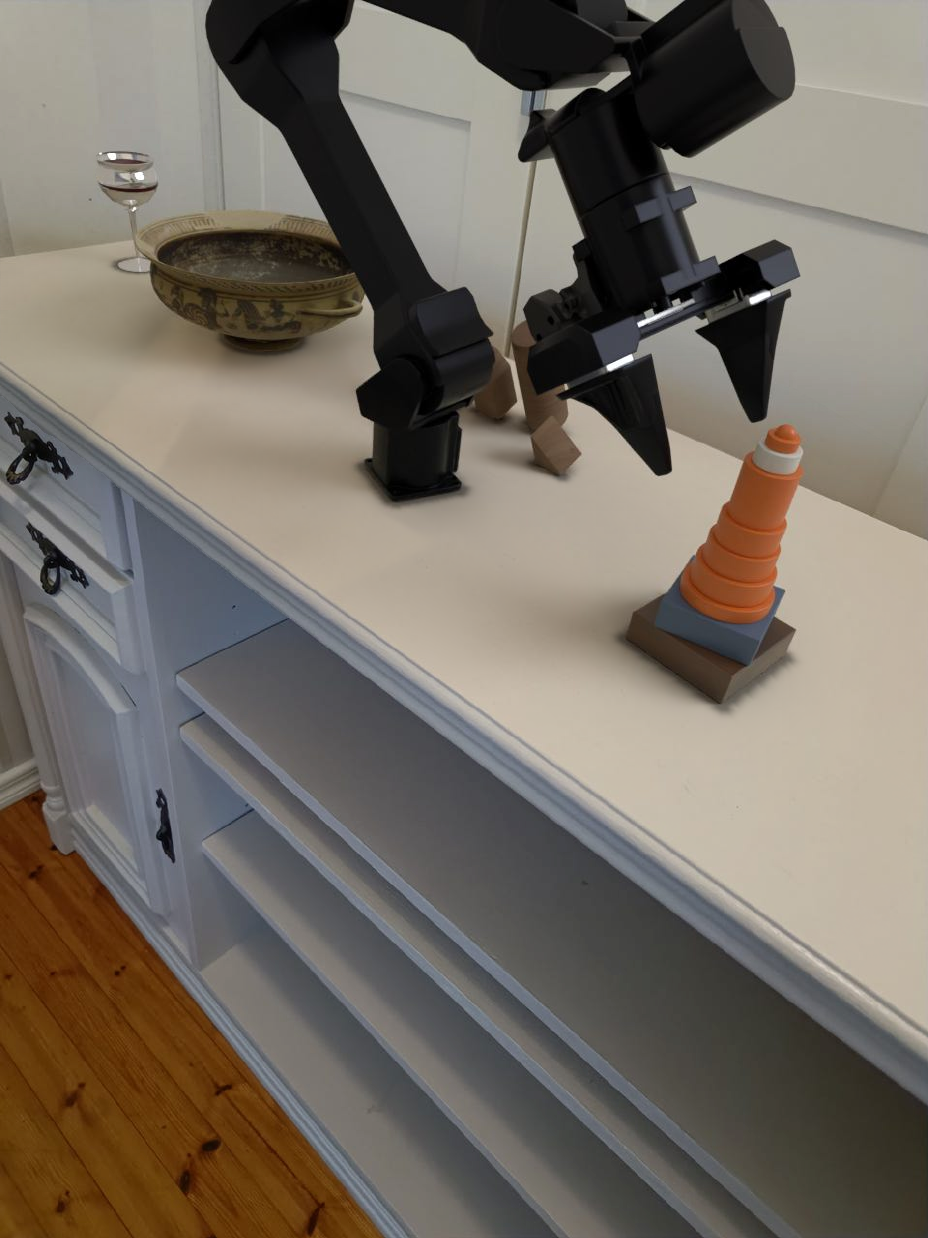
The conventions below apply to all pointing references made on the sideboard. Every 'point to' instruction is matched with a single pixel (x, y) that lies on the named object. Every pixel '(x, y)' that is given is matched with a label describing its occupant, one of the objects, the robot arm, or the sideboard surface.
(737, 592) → the cone
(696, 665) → the base block
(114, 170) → the wineglass
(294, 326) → the ceramic bowl
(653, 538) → the sideboard surface
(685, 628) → the top block
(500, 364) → the wooden block set
